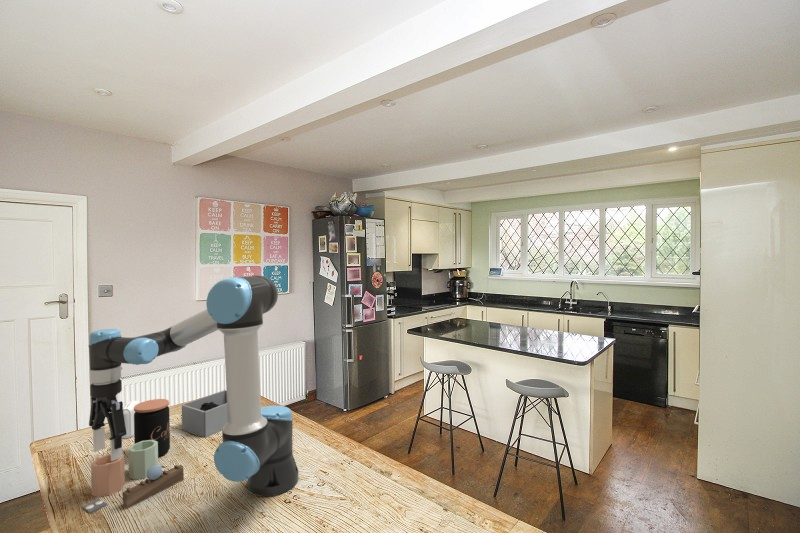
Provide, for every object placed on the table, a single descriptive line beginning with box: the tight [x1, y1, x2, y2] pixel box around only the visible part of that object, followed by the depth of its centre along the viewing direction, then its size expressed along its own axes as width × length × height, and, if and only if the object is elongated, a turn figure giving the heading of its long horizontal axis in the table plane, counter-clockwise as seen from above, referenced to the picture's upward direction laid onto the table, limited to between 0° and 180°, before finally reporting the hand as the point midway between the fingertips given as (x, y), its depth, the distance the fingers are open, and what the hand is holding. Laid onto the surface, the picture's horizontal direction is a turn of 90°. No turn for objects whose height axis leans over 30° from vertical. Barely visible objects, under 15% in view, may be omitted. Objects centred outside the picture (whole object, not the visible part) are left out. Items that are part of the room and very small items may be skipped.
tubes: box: [81, 440, 159, 514], centre depth 118 cm, size 12×22×9 cm, turn 151°
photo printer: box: [122, 400, 141, 439], centre depth 153 cm, size 10×4×12 cm, turn 13°
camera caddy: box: [181, 389, 228, 438], centre depth 162 cm, size 16×21×10 cm
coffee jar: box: [133, 398, 171, 459], centre depth 137 cm, size 11×11×18 cm
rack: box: [122, 464, 185, 509], centre depth 115 cm, size 2×16×5 cm, turn 151°
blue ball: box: [146, 464, 163, 480], centre depth 115 cm, size 4×4×4 cm
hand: (107, 454), depth 116 cm, fingers open, 10 cm apart
